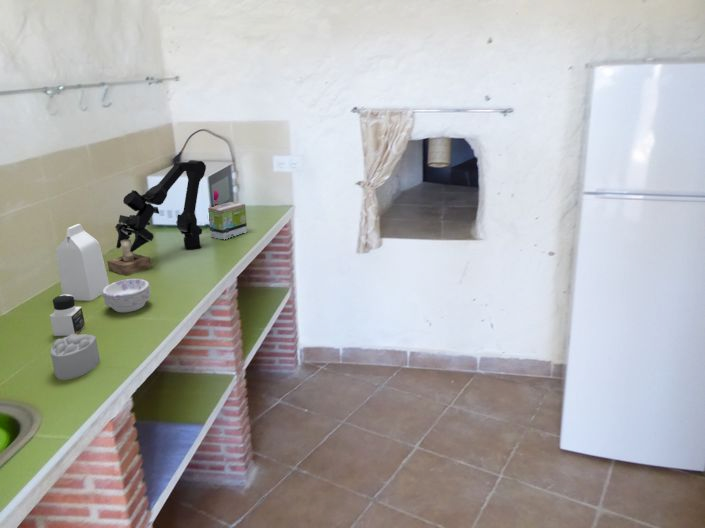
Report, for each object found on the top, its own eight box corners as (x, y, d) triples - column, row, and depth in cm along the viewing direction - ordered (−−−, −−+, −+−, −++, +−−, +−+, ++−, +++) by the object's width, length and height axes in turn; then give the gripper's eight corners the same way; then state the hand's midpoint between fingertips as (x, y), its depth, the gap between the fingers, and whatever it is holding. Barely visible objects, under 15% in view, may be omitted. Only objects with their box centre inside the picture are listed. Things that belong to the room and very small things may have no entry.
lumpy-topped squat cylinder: (104, 357, 175) (99, 330, 172) (81, 380, 163) (76, 351, 160) (70, 356, 176) (65, 329, 173) (45, 379, 164) (39, 351, 161)
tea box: (224, 241, 281) (221, 210, 276) (210, 237, 286) (206, 207, 281) (248, 233, 292) (245, 203, 287) (233, 230, 298) (230, 200, 293)
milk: (91, 300, 217) (78, 231, 208) (63, 299, 219) (48, 230, 210) (110, 288, 228) (98, 222, 219) (83, 287, 230) (70, 221, 221)
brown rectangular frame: (134, 261, 256) (132, 253, 255) (151, 266, 249) (150, 257, 248) (108, 270, 247) (107, 261, 246) (126, 275, 240) (124, 266, 239)
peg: (137, 267, 250) (132, 239, 246) (131, 270, 246) (127, 242, 242) (128, 266, 250) (124, 239, 246) (123, 270, 247) (118, 242, 243)
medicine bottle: (75, 336, 189) (68, 300, 185) (53, 336, 190) (45, 301, 185) (85, 326, 196) (78, 292, 192) (64, 326, 196) (56, 292, 192)
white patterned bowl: (103, 319, 201) (99, 297, 198) (108, 302, 215) (104, 281, 212) (151, 312, 205) (148, 291, 202) (153, 296, 218) (149, 276, 216)
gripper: (115, 204, 248) (95, 236, 243) (143, 209, 237) (123, 243, 233) (134, 218, 257) (116, 249, 252) (162, 224, 246) (143, 257, 241)
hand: (124, 249), depth 244 cm, fingers open, 9 cm apart
